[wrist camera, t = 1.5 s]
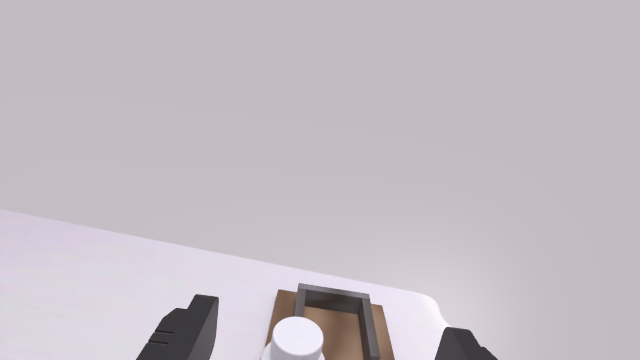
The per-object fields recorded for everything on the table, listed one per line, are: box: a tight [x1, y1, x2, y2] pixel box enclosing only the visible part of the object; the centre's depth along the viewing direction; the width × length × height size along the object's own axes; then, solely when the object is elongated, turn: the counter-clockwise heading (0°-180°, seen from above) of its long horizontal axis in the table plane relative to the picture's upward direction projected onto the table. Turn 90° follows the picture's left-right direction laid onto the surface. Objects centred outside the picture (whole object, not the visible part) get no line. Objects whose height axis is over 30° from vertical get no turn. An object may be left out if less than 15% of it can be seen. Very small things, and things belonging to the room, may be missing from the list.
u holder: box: [265, 283, 395, 360], centre depth 38 cm, size 14×13×4 cm
